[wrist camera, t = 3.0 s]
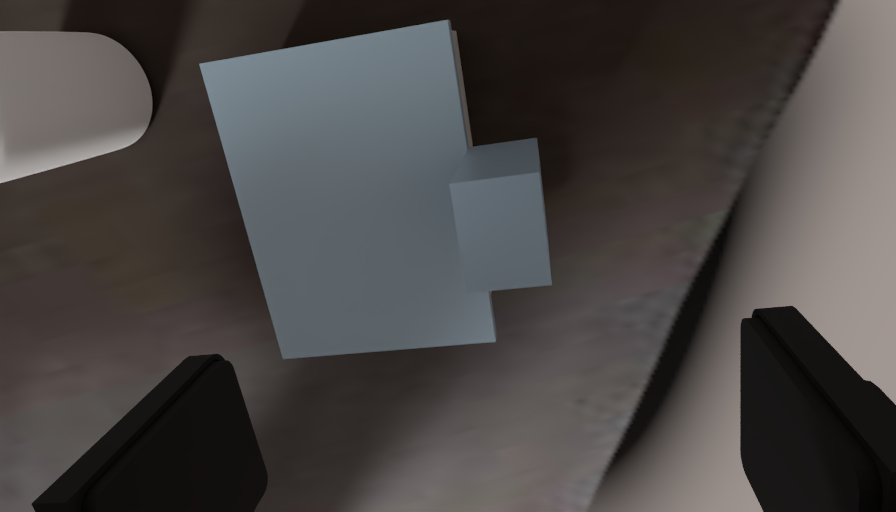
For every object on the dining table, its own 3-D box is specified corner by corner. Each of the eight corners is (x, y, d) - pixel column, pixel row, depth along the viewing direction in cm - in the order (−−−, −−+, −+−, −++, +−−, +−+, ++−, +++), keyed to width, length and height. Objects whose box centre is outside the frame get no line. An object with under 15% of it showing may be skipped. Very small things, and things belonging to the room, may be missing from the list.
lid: (557, 323, 29) (566, 414, 22) (292, 345, 32) (225, 434, 25) (522, 7, 25) (519, -4, 18) (215, 62, 27) (104, 72, 20)
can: (29, 84, 34) (-211, 108, 23) (93, 5, 32) (-136, -10, 21) (112, 171, 36) (-77, 233, 25) (179, 100, 34) (5, 133, 22)
